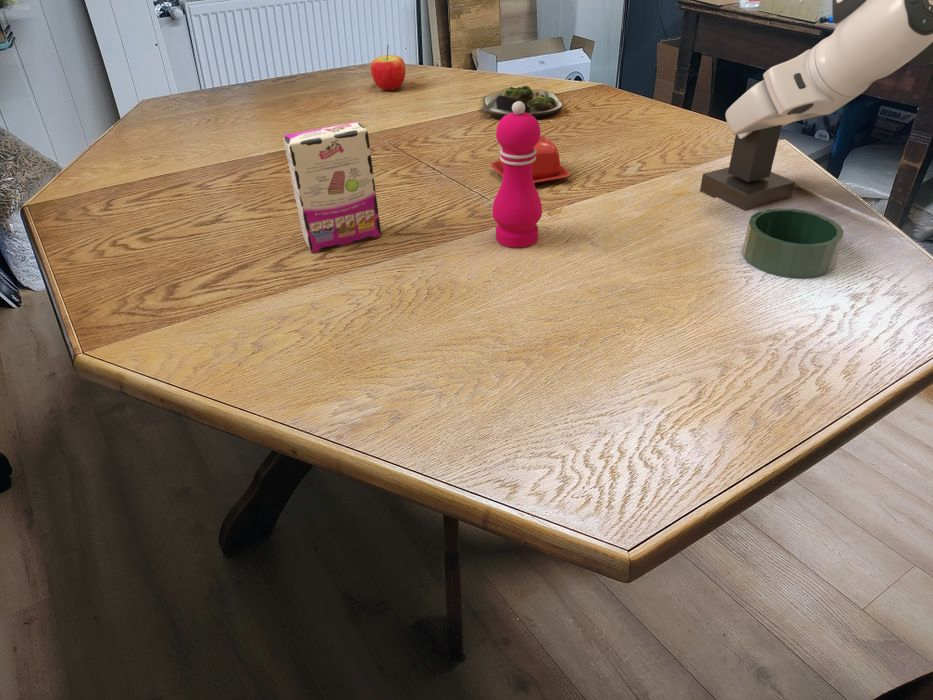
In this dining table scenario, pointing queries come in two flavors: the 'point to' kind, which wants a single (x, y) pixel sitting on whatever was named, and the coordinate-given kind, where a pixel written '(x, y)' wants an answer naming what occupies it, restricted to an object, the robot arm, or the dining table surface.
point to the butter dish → (542, 163)
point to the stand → (746, 189)
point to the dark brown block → (754, 154)
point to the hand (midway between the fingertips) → (755, 130)
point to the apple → (388, 71)
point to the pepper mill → (517, 180)
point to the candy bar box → (333, 185)
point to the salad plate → (534, 102)
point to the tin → (792, 243)
